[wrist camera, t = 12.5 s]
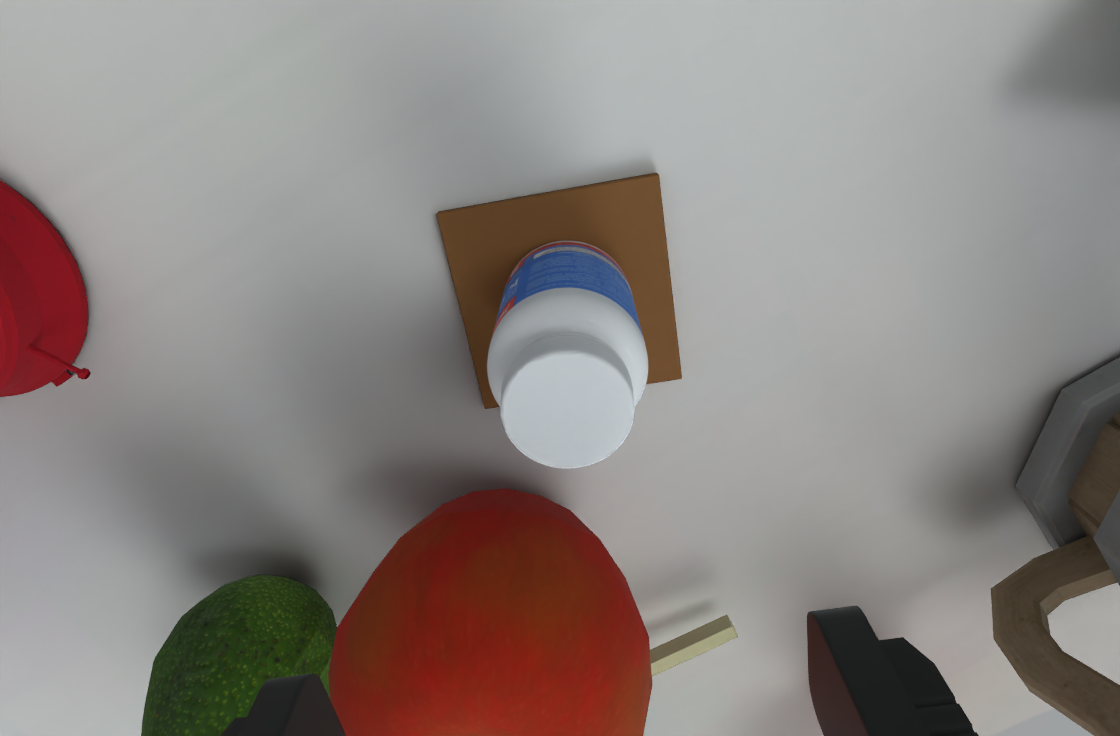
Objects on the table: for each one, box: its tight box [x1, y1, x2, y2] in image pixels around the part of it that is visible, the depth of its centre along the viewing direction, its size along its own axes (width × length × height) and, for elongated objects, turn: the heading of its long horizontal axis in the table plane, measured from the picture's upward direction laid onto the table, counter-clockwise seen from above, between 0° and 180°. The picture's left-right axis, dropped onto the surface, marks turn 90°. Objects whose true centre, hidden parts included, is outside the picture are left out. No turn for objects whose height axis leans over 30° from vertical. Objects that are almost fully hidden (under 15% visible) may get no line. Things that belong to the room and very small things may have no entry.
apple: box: [328, 488, 652, 736], centre depth 28 cm, size 12×12×14 cm
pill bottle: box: [487, 241, 648, 469], centre depth 24 cm, size 6×5×10 cm
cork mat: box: [437, 173, 682, 409], centre depth 29 cm, size 9×9×1 cm
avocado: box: [141, 575, 337, 736], centre depth 30 cm, size 8×8×12 cm
